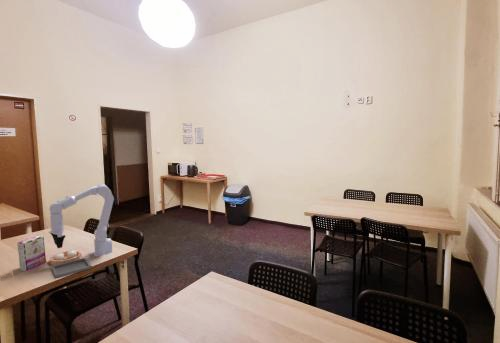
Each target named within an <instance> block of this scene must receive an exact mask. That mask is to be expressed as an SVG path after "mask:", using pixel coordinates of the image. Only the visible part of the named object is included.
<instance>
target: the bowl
mask: <svg viewBox="0 0 500 343" xmlns="http://www.w3.org/2000/svg"><path fill="white" fill-rule="evenodd" d="M68 251H69V250H67V251H62V252H60V253H64V260H59V261H57V260H54V255H55V254H53V255H52V256H51V257H50V258H49V264H50V265H51V266H55V265H59V264H63V263H67V262H71V261H75V260H78V259H82V252H81V251H80V250H76V251H77V256H76V257H73V258H71V259H68V255H67V252H68Z"/></svg>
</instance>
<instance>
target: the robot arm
mask: <svg viewBox="0 0 500 343" xmlns="http://www.w3.org/2000/svg"><path fill="white" fill-rule="evenodd" d="M91 195H92V196H98V195H99V196H101V197H102V198H103V199H104V203H103V206H102V210H101V215H100V219H99V222H98V224H97V228H96V229H95V230H94V231H93V234H94V238H95V239H94V240H93V244H94V252H92V254H93V255H94V256H95V257H96V258H97V257H100V256H101V257H102V256H104V255H108V254H111V253H113V242H112V241H113V240H112V239H111V238H108V234H107V231H108V225H109V220H110V217H111V216H110V215H111V214H112V213H111V212H112V208H113V205H114V200H115V198H114V195H113V193H112V190H111V189H110V188H109V187H108V186H107V185H106V184H104V183H99V184H98V185H94V186H92V187H90V188H87V189H85V190H83V191H82V192H79V193H78V194H76V195H66V196H65V197H64V198H62V199H60V200H59V199H58V200H56V201H54V202H52V203H51V204H50V206H49V212H50V214H49V215H50V219H49V220H50V228H51V229H50V231H48V234H50V235H51V236H52V238H53V242H54V244H55V245H56V247H57V249H61V248H63V244H64V241H65V239H66V235H64V234H63V233H64V232H65V229H64V218H63V213H62V212H63V210H66V209H68V208H70V207H72V206H74V205H76V204H77V201H79V200H80V201H81V200H83V199H86V198H87V197H89V196H91Z"/></svg>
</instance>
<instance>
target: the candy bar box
mask: <svg viewBox="0 0 500 343" xmlns="http://www.w3.org/2000/svg"><path fill="white" fill-rule="evenodd" d="M16 245H17V255H18V261H19V271H23V272H29V271H30V270H32V269H33V270H34V268H37V267H39V266H42V265H44V264H45V263H47V260H46V259H47V258H46V249H45V247H46V246H45V236H44V235H36V236H32V237H30V238H26V239H24V240H20V241H18V242H17V244H16Z"/></svg>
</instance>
